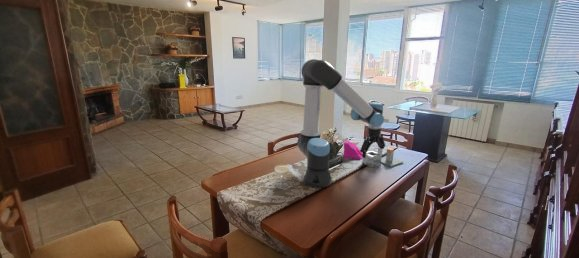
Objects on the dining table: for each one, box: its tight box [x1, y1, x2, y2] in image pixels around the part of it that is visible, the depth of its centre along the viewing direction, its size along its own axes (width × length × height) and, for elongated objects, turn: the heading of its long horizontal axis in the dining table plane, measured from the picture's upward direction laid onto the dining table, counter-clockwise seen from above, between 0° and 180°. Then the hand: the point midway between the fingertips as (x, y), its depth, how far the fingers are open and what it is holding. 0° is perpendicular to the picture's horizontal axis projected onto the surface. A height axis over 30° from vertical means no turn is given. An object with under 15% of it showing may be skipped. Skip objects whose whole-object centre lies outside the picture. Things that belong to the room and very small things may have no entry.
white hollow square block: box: [361, 150, 383, 168], centre depth 170 cm, size 8×8×7 cm
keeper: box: [381, 147, 404, 168], centre depth 172 cm, size 12×12×9 cm
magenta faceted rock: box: [342, 140, 363, 160], centre depth 183 cm, size 12×10×10 cm
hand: (372, 159), depth 170 cm, fingers open, 13 cm apart
